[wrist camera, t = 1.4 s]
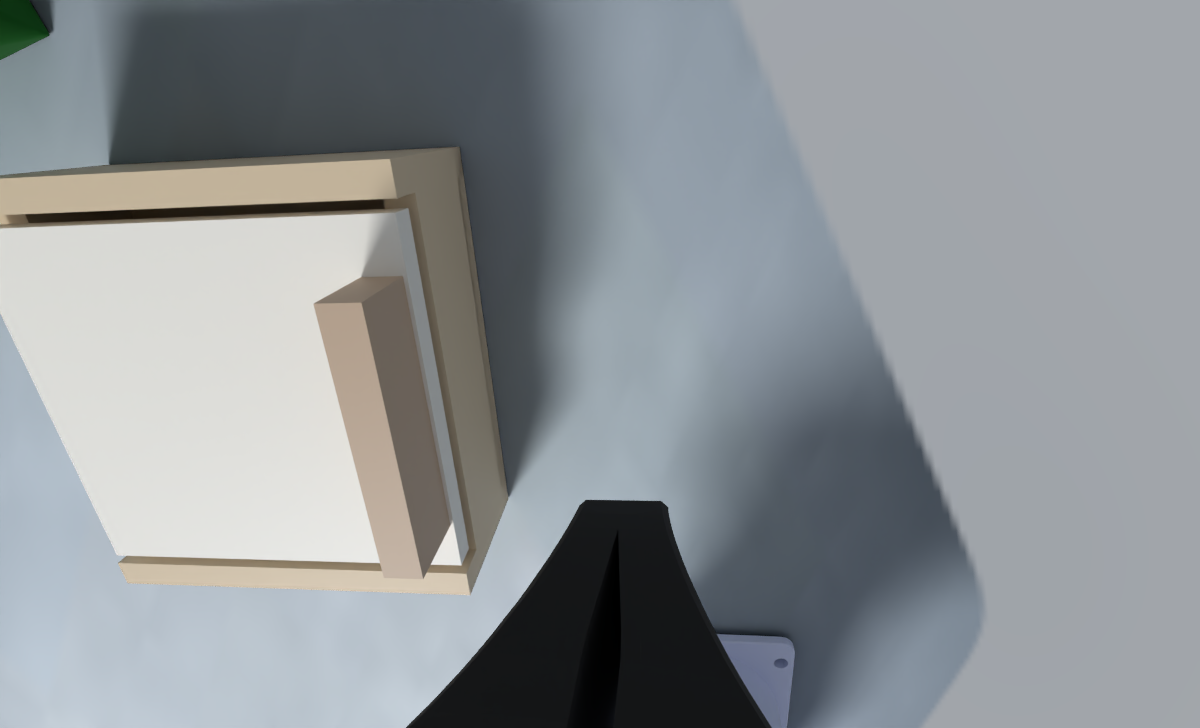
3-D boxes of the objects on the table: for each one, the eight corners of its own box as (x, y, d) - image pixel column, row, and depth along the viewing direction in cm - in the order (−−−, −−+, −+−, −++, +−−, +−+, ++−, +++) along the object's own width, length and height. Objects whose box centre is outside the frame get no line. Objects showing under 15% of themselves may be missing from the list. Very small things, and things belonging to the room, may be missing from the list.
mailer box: (508, 498, 21) (470, 595, 17) (228, 494, 22) (127, 583, 18) (459, 146, 16) (390, 158, 12) (106, 165, 18) (-68, 182, 13)
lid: (468, 548, 17) (436, 622, 15) (136, 540, 18) (54, 607, 16) (408, 207, 13) (350, 230, 11) (-9, 224, 14) (-147, 248, 12)
